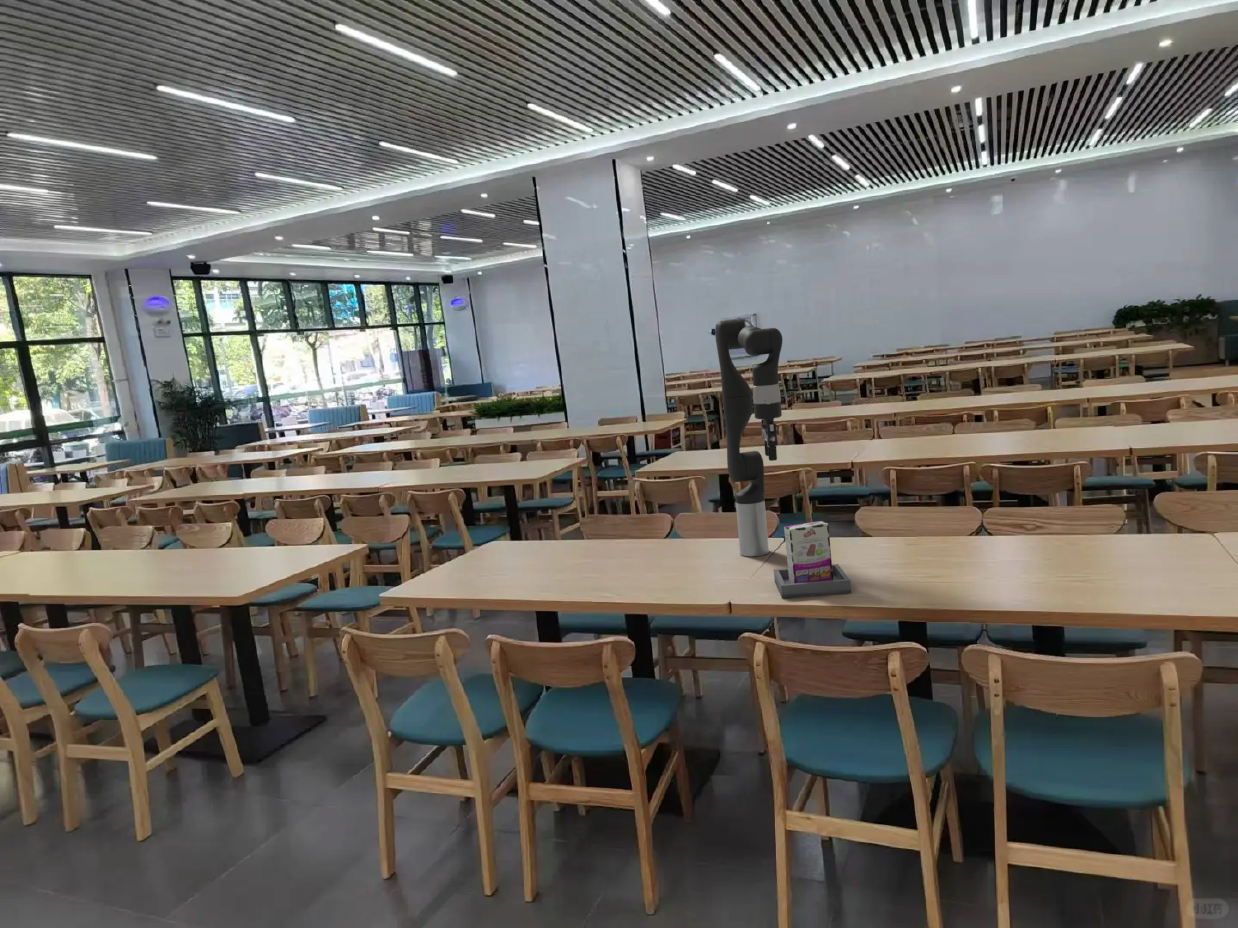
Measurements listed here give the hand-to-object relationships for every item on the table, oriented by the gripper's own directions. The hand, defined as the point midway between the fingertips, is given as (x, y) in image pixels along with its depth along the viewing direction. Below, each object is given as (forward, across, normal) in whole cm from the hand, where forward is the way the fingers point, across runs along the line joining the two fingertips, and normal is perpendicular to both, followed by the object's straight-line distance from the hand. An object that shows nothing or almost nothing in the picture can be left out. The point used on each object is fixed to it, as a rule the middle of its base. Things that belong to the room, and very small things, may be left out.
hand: (771, 457), depth 225 cm
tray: (+34, +13, +7) cm, 37 cm away
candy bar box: (+34, +12, +7) cm, 37 cm away
